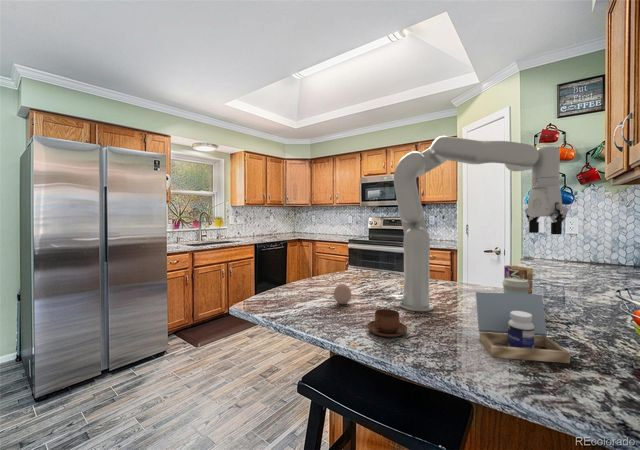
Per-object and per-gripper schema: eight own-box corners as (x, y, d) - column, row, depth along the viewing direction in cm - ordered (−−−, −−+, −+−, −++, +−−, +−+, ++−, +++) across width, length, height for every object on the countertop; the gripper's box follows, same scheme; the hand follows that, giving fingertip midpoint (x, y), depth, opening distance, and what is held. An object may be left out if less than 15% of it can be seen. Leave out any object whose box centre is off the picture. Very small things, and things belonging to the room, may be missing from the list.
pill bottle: (502, 346, 80) (503, 310, 80) (522, 345, 81) (522, 309, 81) (518, 356, 75) (519, 317, 74) (539, 355, 75) (540, 316, 75)
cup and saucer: (400, 344, 83) (400, 322, 83) (361, 335, 89) (361, 314, 89) (412, 330, 93) (412, 310, 93) (375, 322, 100) (375, 304, 99)
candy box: (533, 306, 115) (533, 267, 115) (526, 308, 113) (527, 268, 113) (509, 301, 123) (510, 264, 123) (503, 302, 121) (503, 265, 121)
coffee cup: (534, 316, 105) (534, 282, 104) (507, 314, 106) (507, 281, 106) (522, 308, 113) (523, 277, 113) (498, 307, 115) (498, 276, 114)
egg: (345, 307, 116) (345, 286, 116) (330, 304, 120) (330, 284, 120) (354, 303, 122) (354, 283, 121) (340, 300, 126) (340, 281, 126)
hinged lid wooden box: (492, 357, 75) (492, 347, 74) (479, 340, 84) (479, 332, 84) (569, 363, 71) (569, 352, 71) (546, 345, 81) (546, 336, 81)
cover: (476, 292, 87) (475, 292, 88) (479, 331, 84) (478, 331, 85) (542, 294, 83) (540, 294, 84) (547, 336, 81) (545, 335, 82)
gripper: (517, 186, 110) (516, 232, 111) (555, 180, 93) (554, 235, 94) (536, 186, 111) (535, 232, 111) (578, 180, 93) (577, 234, 94)
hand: (544, 233), depth 102 cm, fingers open, 9 cm apart
